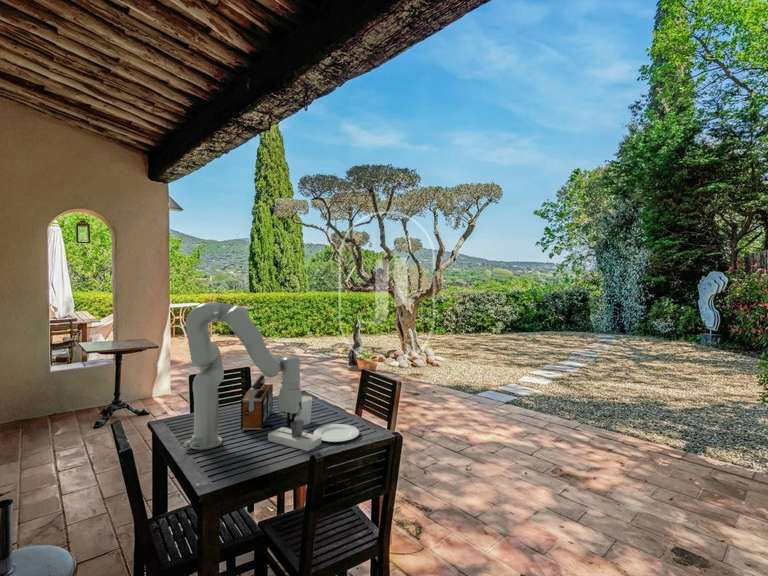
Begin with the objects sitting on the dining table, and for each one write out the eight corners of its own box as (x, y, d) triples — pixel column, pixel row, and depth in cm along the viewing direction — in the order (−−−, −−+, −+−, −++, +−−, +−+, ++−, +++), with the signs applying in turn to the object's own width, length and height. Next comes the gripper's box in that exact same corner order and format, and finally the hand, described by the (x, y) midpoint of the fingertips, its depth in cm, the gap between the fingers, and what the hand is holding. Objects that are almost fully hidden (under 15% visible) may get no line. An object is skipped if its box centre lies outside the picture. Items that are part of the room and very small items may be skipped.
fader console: (308, 451, 166) (308, 443, 165) (267, 440, 176) (268, 433, 175) (321, 443, 174) (321, 436, 173) (281, 433, 184) (282, 426, 183)
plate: (325, 449, 168) (325, 445, 168) (305, 433, 185) (305, 429, 185) (368, 439, 180) (368, 435, 180) (345, 424, 197) (345, 420, 197)
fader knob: (295, 438, 171) (296, 424, 171) (290, 436, 172) (290, 422, 172) (303, 434, 175) (303, 420, 175) (297, 432, 177) (298, 419, 177)
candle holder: (313, 425, 195) (314, 400, 195) (293, 427, 191) (293, 402, 191) (309, 418, 204) (310, 394, 204) (290, 420, 201) (290, 396, 200)
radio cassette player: (262, 432, 185) (263, 389, 185) (239, 432, 184) (239, 389, 183) (272, 411, 214) (273, 373, 214) (252, 411, 213) (253, 374, 212)
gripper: (271, 384, 175) (271, 426, 176) (299, 389, 168) (298, 432, 169) (283, 380, 182) (282, 421, 182) (310, 385, 175) (309, 427, 176)
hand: (290, 426), depth 176 cm, fingers closed
